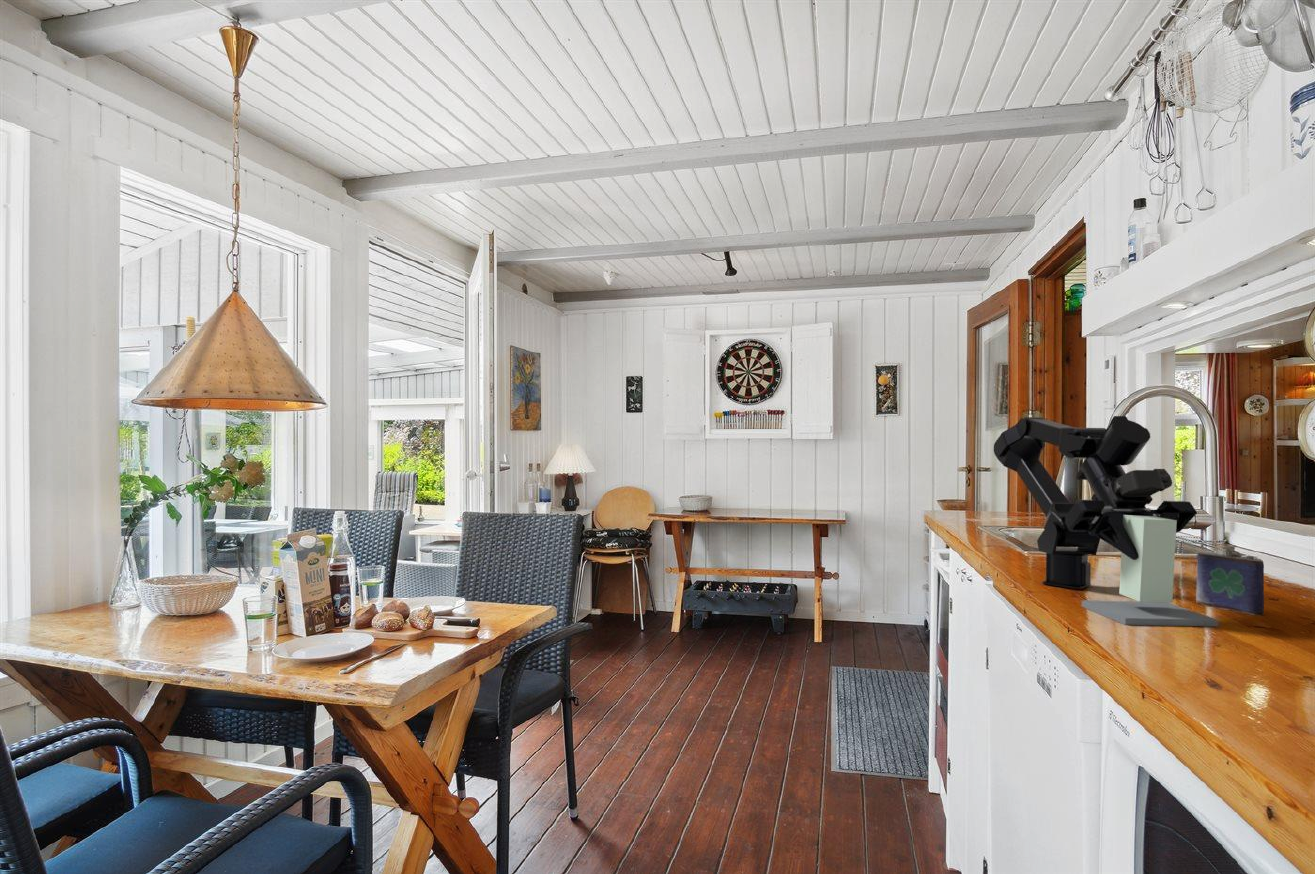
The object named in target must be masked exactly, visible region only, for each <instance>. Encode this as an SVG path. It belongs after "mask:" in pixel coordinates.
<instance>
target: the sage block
mask: <svg viewBox="0 0 1315 874" xmlns="http://www.w3.org/2000/svg"><path fill="white" fill-rule="evenodd" d="M1176 524H1177V520H1171V519H1166V518H1161V517H1156V516H1138V515H1123V526H1124V528H1125V530H1126V532H1127V533H1128V535H1129V537H1130V539H1131V541H1132V543H1133V544H1134V546H1135V548H1136V551H1137V553H1138V558H1137V559H1136V560H1132V559H1131V558H1130V557H1128V556H1127V555H1125V554H1124V553H1122V552H1121V551H1120V553H1121V554H1120V572H1119V575H1120V576H1119V590H1118V591H1119V595H1121V596H1124V597H1127V598H1130V599H1133V601H1139V602H1159V603H1170V604H1173V595H1174V576H1175V575H1174V574H1175V559H1176V558H1175V557H1176V541H1177V533H1176Z"/></svg>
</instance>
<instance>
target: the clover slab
mask: <svg viewBox="0 0 1315 874" xmlns="http://www.w3.org/2000/svg"><path fill="white" fill-rule="evenodd" d="M1236 548H1238V547H1237V545H1234V544H1233V545H1228V546H1226V545H1225V546H1223V550H1225V554H1223V553H1222V554H1220V553H1215V552H1204V551H1200V552H1198V553H1197V554H1196V574H1197V575H1196V595H1195V597H1196V598H1195V601H1196V604H1199V605H1200V606H1205V607H1211V608H1216V609H1219V610H1225V611H1232V612H1235V613H1237V612H1238V613H1242V614H1247V615H1251V616H1259V617H1262V616H1264V612H1265V611H1264V609H1265V593H1264V591H1265V587H1264V586H1265V584H1264V582H1265V579H1264V578H1265V577H1264V576H1265V572H1264V570H1265V564H1264V561H1263V560H1262V559H1261V558H1255V557H1254V555H1249V554H1247V555H1246V556H1245V554H1244V553H1243V554H1242V553H1241V552H1239V551H1236V550H1235V549H1236Z"/></svg>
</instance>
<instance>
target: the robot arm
mask: <svg viewBox="0 0 1315 874" xmlns="http://www.w3.org/2000/svg"><path fill="white" fill-rule="evenodd" d="M1150 440H1151V433H1150V431H1149V430H1148V429H1147V428H1146V427H1144V426H1142V425H1141V424H1139V423H1137V422H1136V421H1134V420H1133V421H1132V420H1129V419H1128V417H1127V416H1126V415H1125V416H1124V415H1118V416H1117V415H1114V416H1113V418H1111V419H1110V422H1109V425H1108V426H1107V428H1105V427H1073V426H1070V425H1066V424H1063V423H1061V422H1060V423H1059V422H1055V421H1052V420H1049V419H1048V418H1044V417H1040V416H1038V417H1037V416H1035V417H1033V416H1032V417H1031V416H1024V417H1023V418H1022V417H1021V418H1020V419H1018V421H1017V423H1016V424H1015V425H1013V426H1011V427H1009V428H1007V429H1006V430H1004V431H1002V432H1001V434H999V436H998V438H997V439H996V440H995V442H994V443H993V454H994V456H995V457H996V459H997V460H998V462H1000V463H1001V464H1002V466H1003V467H1005V468H1007V469H1009V470H1011V471H1014V472H1015V473H1017V475H1018V477H1019V478H1020V479H1021V481H1022V482H1023V484H1024V485H1025V487H1026V488H1027V489H1028V491H1029V492H1030V494H1031V496H1032V497H1033V499H1034V500H1035V502H1036V504H1037V505H1038V506H1039V508H1040V510H1041V511H1042V513H1043V514H1044V516H1045V521H1044V525H1043V531H1042V532H1041V533H1040V535H1039V537H1038V538H1037V540H1036V543H1037V549H1038V551H1039V552H1042V553H1046V555H1045V559H1046V560H1045V580H1042V581H1041V584H1043V585H1050V586H1054V587H1059V588H1060V587H1061V588H1065V589H1066V588H1067V589H1072V590H1081V589H1085V588H1088V587H1090V586H1091V585H1092V583H1091V575H1092V574H1091V573H1092V572H1091V570H1092V569H1091V567H1092V565H1091V564H1092V563H1091V562H1089V561H1088V560H1089V556H1090V555H1091V556H1096V555H1097V553H1098V549H1099V545H1100V541H1101V540H1102V541H1103V542H1105V543H1107V544H1109V545H1110V546H1112V547H1113V548H1114V549H1117V550H1118V551H1119V552H1120V553H1121V552H1122V553H1124V554H1125V555H1127V556H1128V557H1130V558H1131V559H1132V560H1136V559H1137V558H1138V553H1137V551H1136V548H1135V546H1134V544H1133V543H1132V541H1131V539H1130V537H1129V535H1128V533H1127V532H1126V530H1125V528H1124V526H1123V515H1138V516H1156V517H1161V518H1166V519H1171V520H1177V524H1176V534H1177V533H1181V532H1182V530H1183V529H1184V528H1185V527H1186V526H1187V525H1188V524H1189V523H1190V521H1192V519H1194V517H1195V516H1196V515H1197V514H1198V512H1197V510H1196V509H1195V507H1194V505H1193V504H1192V503H1191V502H1190V501H1185V500H1163V501H1162V502H1161V504H1160V505H1159V506H1158V507H1157V508H1156V509H1152V508H1150V507H1146V505H1150V504H1151V502H1152V501H1154V500H1153V499H1154V498H1152V496H1153V495H1155V494H1156V493H1159V492H1164V491H1165V490H1166V489H1168V488H1170V487H1172V485H1173V480H1172V476H1171V475H1170V474H1169V473H1168V471H1167V470H1166V469H1165V468H1154V469H1135V470H1130V471H1128V472H1126V471H1125V470H1124V468H1123V466H1128V465H1129V466H1130V465H1131V464H1132V463H1133V462H1134V461H1135V459H1136V458H1137V457H1138V456H1139V454H1140V453H1141V452H1142V450H1143V448H1145V446H1146V444H1147V443H1148V442H1149V441H1150ZM1046 443H1048V444H1050V445H1053V446H1056V447H1057V448H1058V452H1059V453H1060V454H1062V455H1063V456H1065V457H1066V458H1068V459H1076V460H1077V459H1078V460H1079V459H1080V460H1083V459H1084V460H1083V462H1082V463H1081V464H1080V465H1079V470H1078V471H1077V473H1076V480H1078V481H1079V480H1080V481H1087V483H1088V484H1089V486H1090V488H1091V490H1092V492H1093V495H1092V496H1091V497H1090V499H1077V500H1076V501H1075V502H1074V503H1071V502H1070V501H1069V500H1068V498H1067V497H1066V495H1065V494H1064V493H1063V492H1062V490H1061V488H1060V487H1059V486H1058V484H1057V483H1056V482H1055V480H1054V479H1053V477H1052V476H1051V475H1050V473H1049V471H1047V469H1046V467H1045V466H1044V465H1043V464H1042V462H1041V461H1040V458H1041V454H1042V451H1043V450H1044V449H1045V447H1046Z"/></svg>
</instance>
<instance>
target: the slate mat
mask: <svg viewBox="0 0 1315 874" xmlns="http://www.w3.org/2000/svg"><path fill="white" fill-rule="evenodd" d="M1081 607H1082V608H1084V609H1086V610H1090V611H1092V612H1094V613H1097V614H1099V615H1100V616H1103V617H1106V618H1108V619H1110V620H1113V621H1116V622H1118V623H1120V624H1122V625H1125V626H1169V627H1170V626H1175V627H1176V626H1178V627H1179V626H1180V627H1182V626H1183V627H1219V619H1217V618H1214V617H1212V616H1209V615H1205V614H1203V613H1200V612H1197V611H1193V610H1191V609H1187V608H1184V607H1182V606H1178V605H1176V604H1173V603H1159V602H1139V601H1137V600H1133V601H1132V600H1130V601H1129V600H1127V601H1126V600H1125V601H1123V600H1122V601H1121V600H1081Z"/></svg>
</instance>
